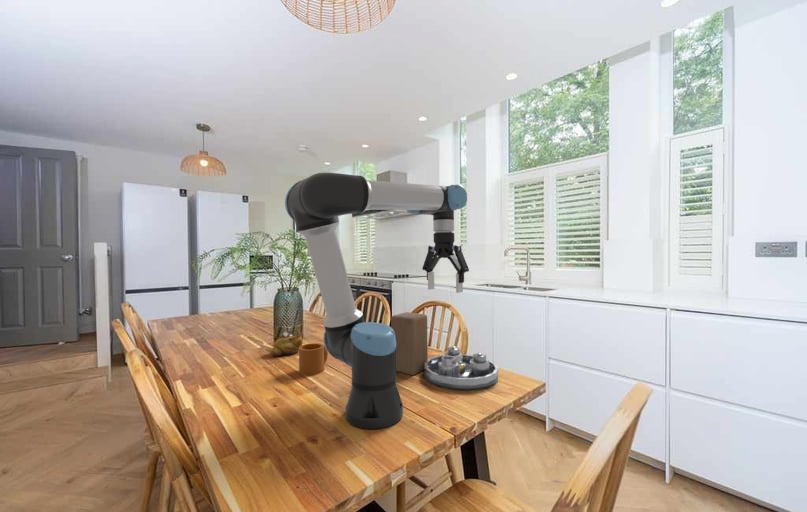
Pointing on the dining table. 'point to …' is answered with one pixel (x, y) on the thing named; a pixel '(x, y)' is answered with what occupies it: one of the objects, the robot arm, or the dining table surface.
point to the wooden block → (410, 342)
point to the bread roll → (287, 346)
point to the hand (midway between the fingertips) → (444, 290)
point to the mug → (312, 358)
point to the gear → (448, 367)
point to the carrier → (463, 371)
